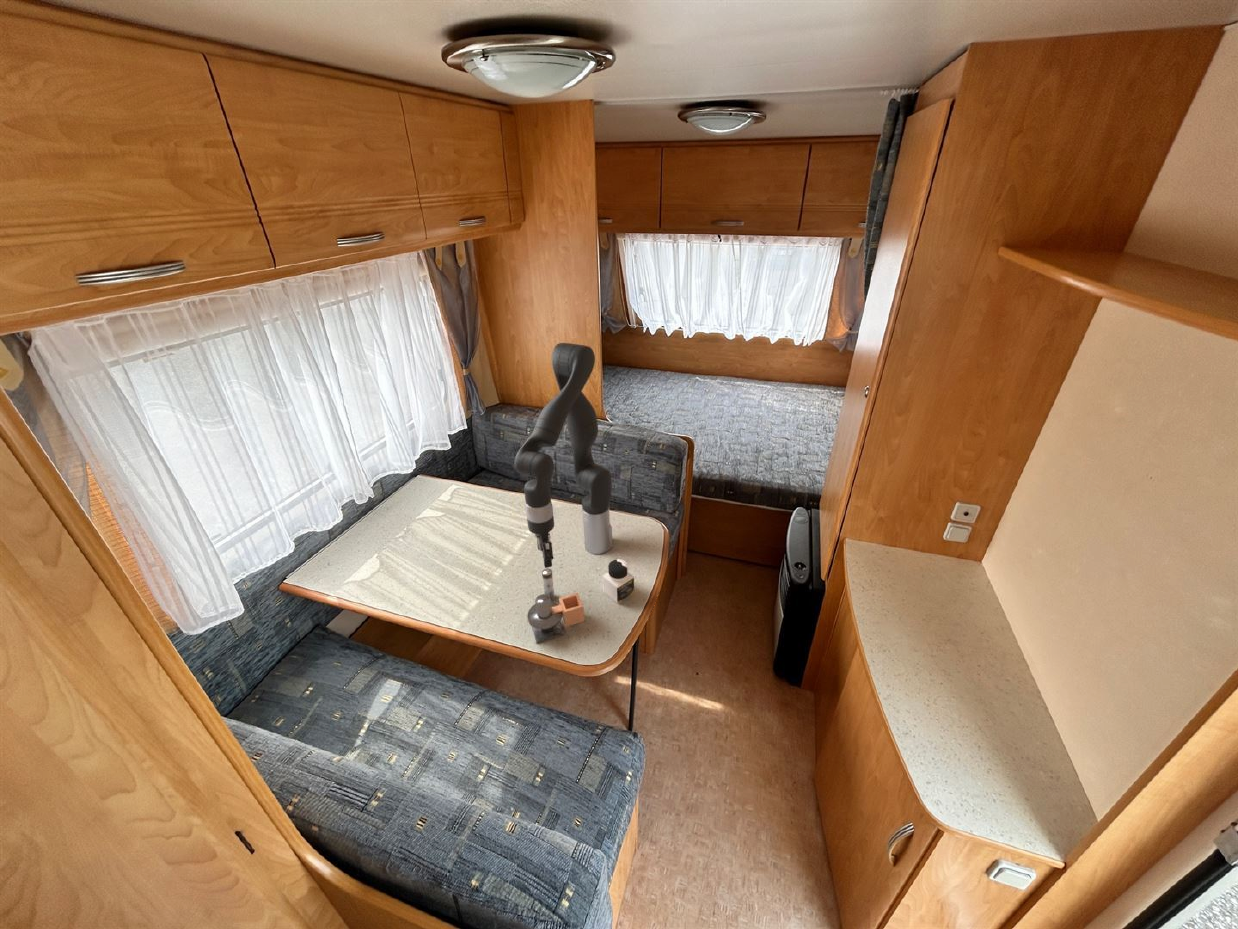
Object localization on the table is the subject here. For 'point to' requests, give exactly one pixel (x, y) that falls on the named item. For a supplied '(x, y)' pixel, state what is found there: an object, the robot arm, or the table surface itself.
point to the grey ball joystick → (544, 619)
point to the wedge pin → (548, 583)
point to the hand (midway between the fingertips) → (544, 557)
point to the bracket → (570, 609)
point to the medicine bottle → (618, 581)
